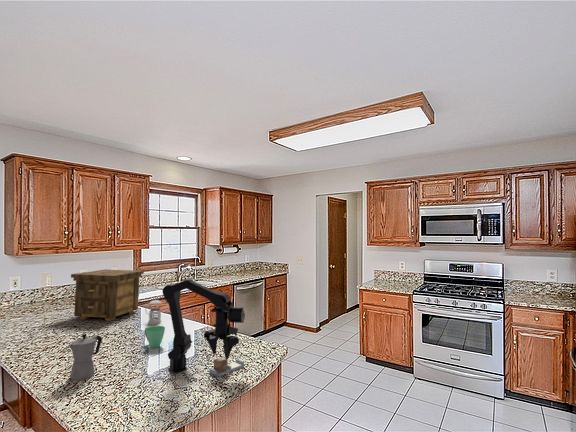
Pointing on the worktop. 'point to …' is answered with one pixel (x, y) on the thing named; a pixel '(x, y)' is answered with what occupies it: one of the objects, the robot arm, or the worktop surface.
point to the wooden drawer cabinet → (106, 293)
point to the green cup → (154, 335)
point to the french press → (156, 309)
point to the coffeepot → (84, 357)
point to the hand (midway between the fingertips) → (220, 356)
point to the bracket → (228, 368)
